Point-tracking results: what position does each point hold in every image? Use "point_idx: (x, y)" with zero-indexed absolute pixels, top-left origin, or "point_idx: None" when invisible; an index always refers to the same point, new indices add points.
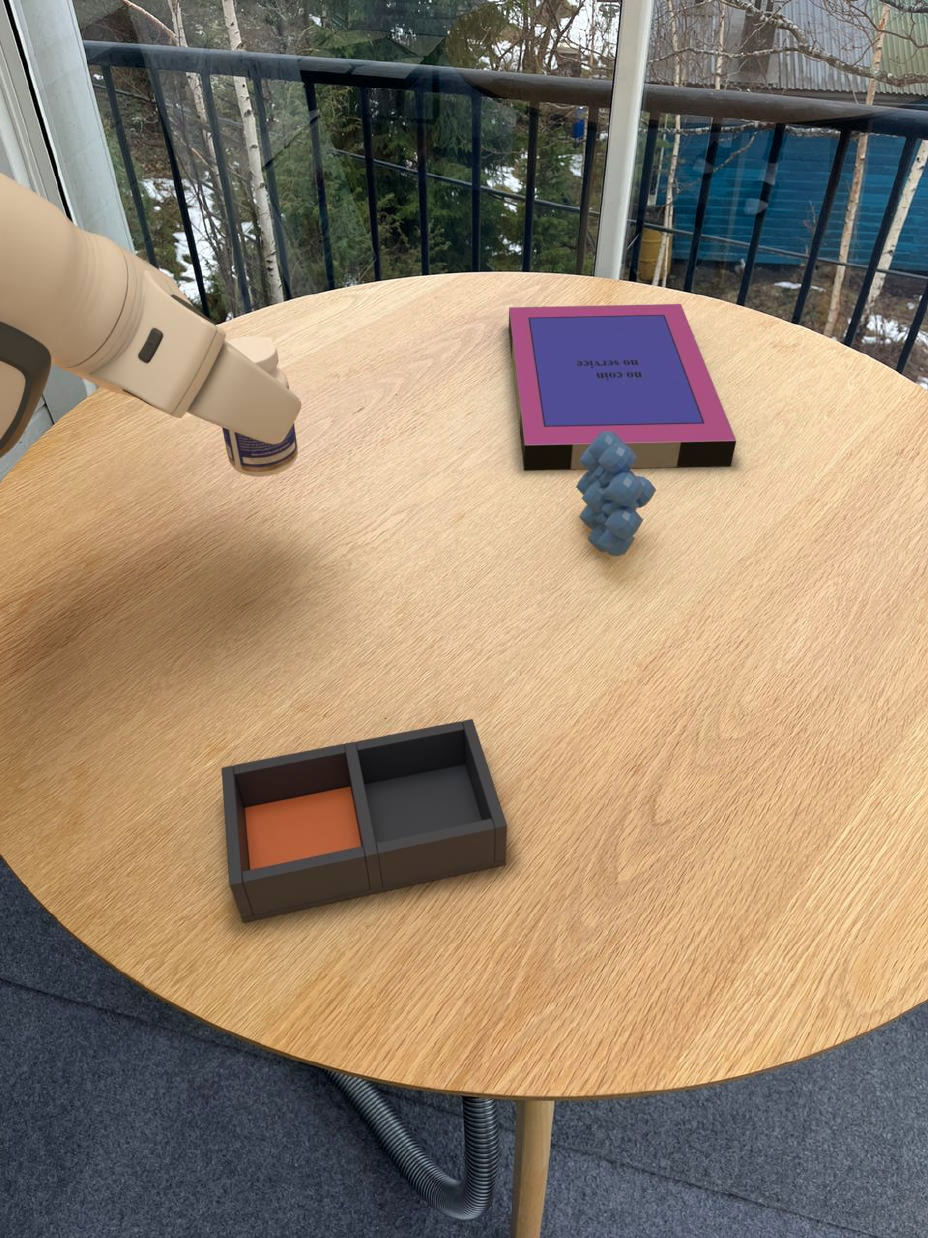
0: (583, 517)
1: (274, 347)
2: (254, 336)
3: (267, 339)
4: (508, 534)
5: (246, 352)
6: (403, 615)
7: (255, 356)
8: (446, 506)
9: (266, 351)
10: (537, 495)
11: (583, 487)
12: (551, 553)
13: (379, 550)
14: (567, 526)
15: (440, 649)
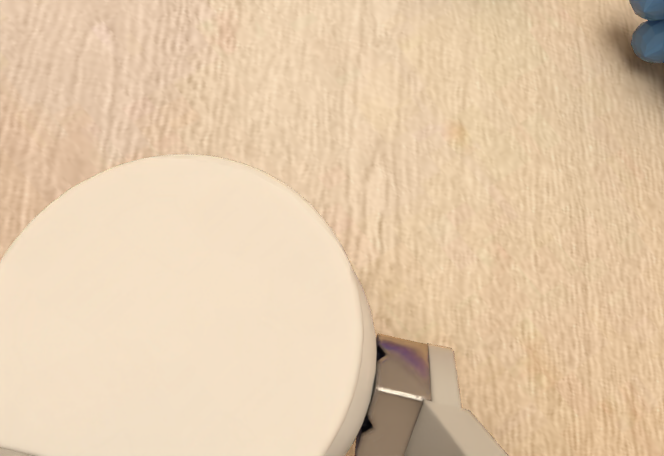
0: (655, 55)
1: (308, 213)
2: (110, 172)
3: (204, 162)
4: (547, 127)
5: (201, 356)
6: (547, 377)
7: (290, 367)
8: (424, 119)
9: (303, 277)
10: (521, 31)
11: (661, 9)
12: (627, 132)
13: (406, 266)
14: (604, 69)
15: (648, 411)
